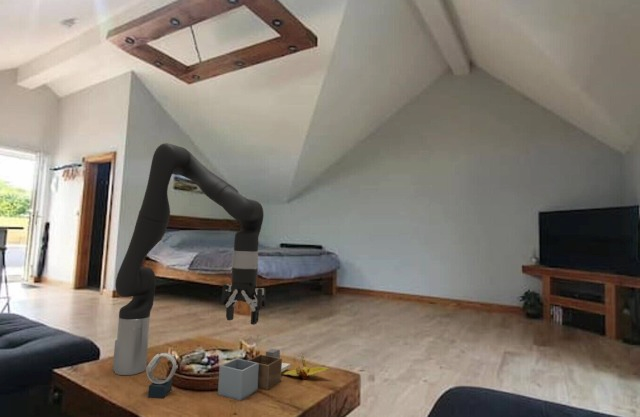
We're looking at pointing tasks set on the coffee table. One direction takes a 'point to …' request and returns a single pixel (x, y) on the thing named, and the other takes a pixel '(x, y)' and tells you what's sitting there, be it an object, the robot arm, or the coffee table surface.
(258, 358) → the walnut box
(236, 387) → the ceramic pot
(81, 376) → the coffee table surface
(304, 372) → the origami crane
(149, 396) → the watch
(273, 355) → the lid
